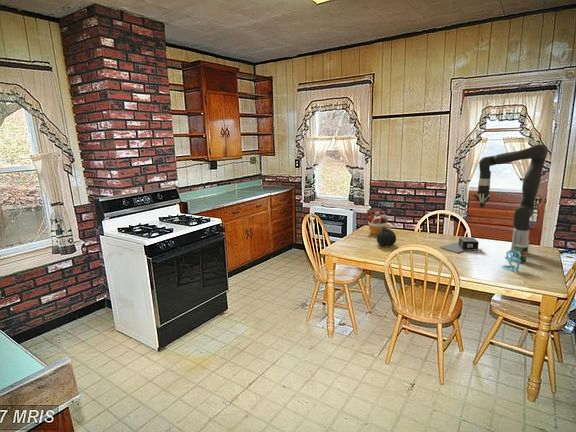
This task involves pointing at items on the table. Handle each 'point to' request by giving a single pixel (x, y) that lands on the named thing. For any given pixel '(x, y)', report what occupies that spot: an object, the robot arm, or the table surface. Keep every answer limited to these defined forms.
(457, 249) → the mat
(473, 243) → the small box
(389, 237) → the squash
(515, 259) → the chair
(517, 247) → the canned tomato
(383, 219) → the bucket of meat
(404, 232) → the table surface
